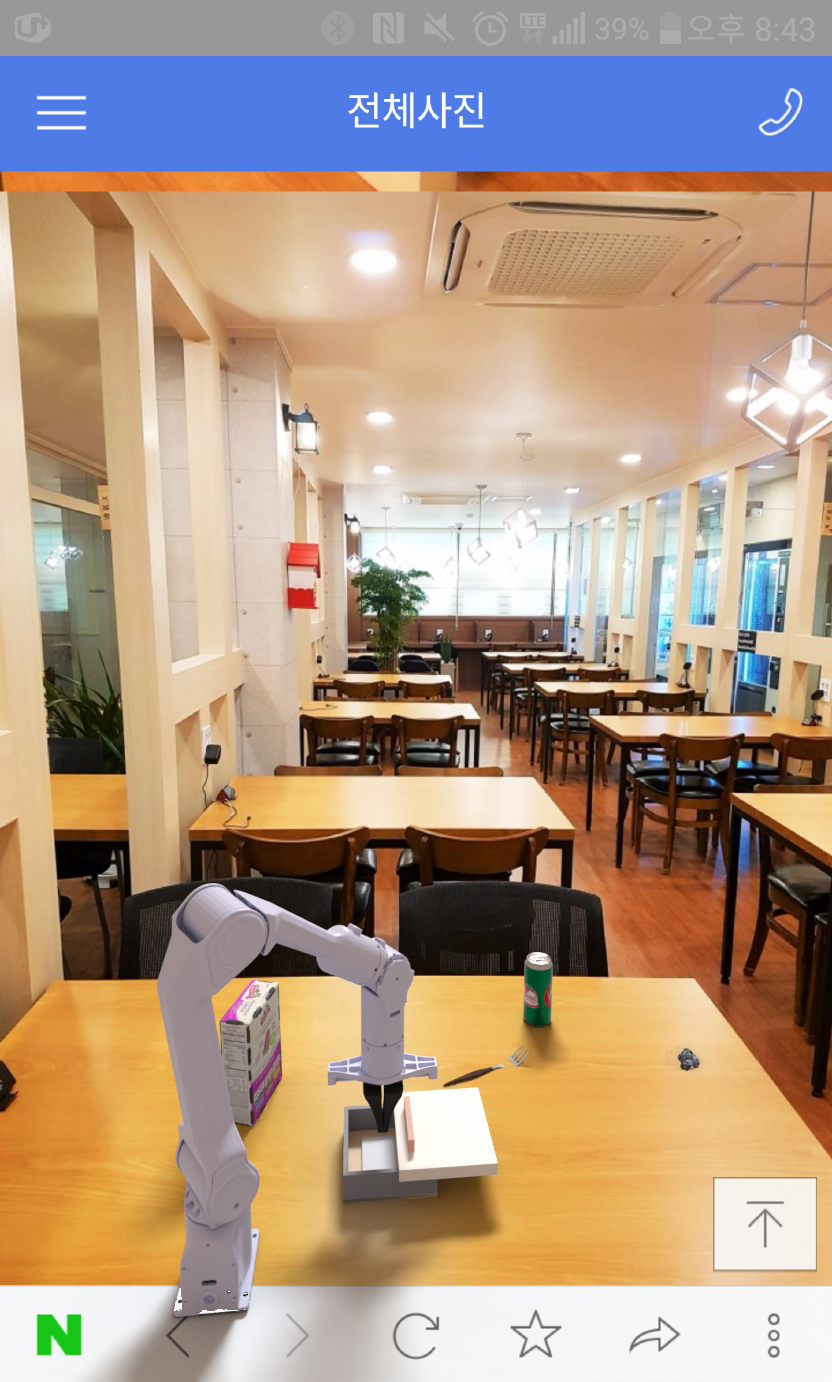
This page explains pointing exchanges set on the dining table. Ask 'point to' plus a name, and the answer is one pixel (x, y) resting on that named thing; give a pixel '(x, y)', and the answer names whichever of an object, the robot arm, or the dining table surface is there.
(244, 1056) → the candy bar box
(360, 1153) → the mailer tray
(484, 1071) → the fork
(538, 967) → the soda can
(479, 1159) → the lid
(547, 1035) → the dining table surface
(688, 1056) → the blueberries
